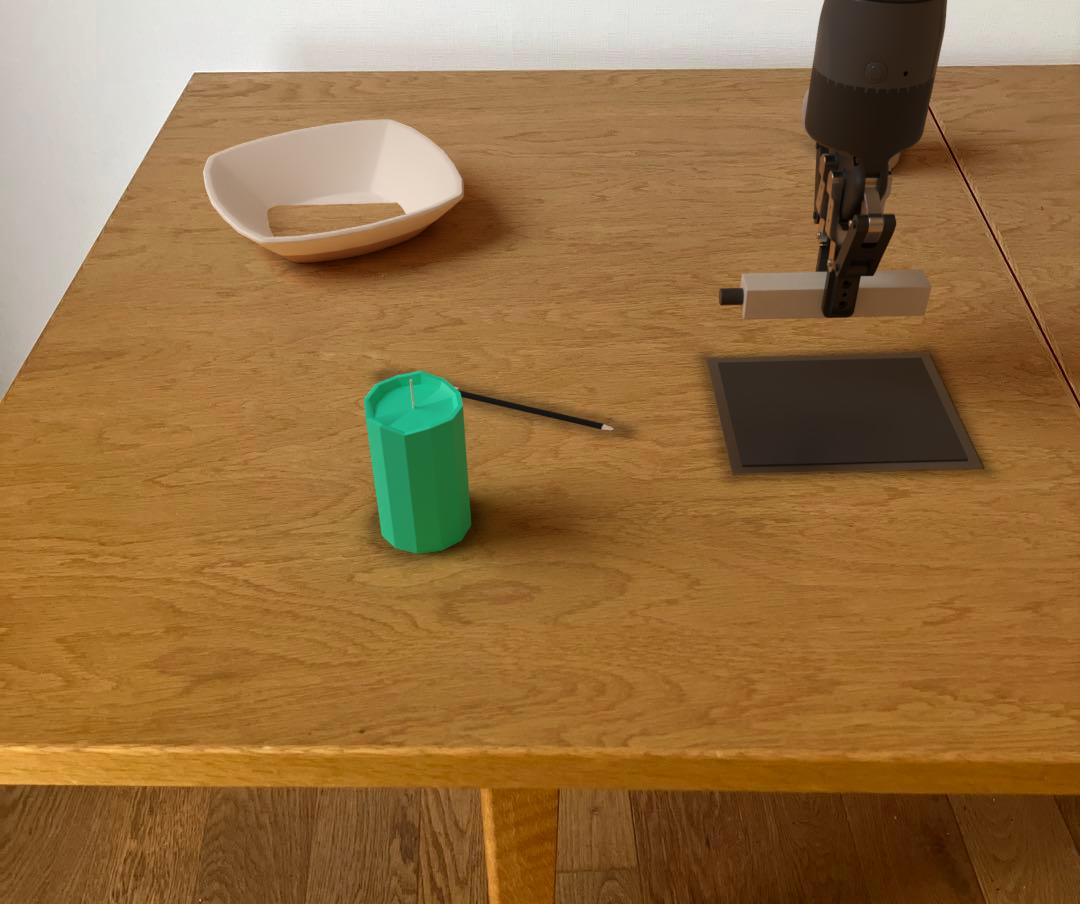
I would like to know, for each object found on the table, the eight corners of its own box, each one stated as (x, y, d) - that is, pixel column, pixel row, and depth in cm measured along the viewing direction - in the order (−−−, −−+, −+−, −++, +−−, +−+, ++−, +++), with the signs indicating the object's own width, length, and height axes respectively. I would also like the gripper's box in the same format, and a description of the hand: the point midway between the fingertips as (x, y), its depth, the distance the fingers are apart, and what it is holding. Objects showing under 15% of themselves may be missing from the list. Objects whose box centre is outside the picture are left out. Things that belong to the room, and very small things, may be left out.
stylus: (916, 298, 87) (923, 269, 86) (925, 316, 85) (932, 286, 84) (716, 302, 87) (719, 273, 85) (720, 320, 85) (723, 290, 84)
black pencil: (390, 381, 91) (388, 369, 90) (627, 436, 85) (628, 423, 85) (384, 387, 90) (383, 375, 90) (623, 443, 85) (624, 431, 84)
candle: (390, 500, 81) (371, 349, 73) (478, 504, 80) (468, 353, 72) (372, 560, 76) (349, 407, 68) (465, 566, 76) (453, 412, 68)
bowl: (408, 159, 120) (403, 107, 116) (495, 254, 105) (492, 198, 102) (194, 205, 113) (182, 151, 110) (255, 313, 99) (244, 256, 95)
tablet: (926, 363, 92) (929, 351, 91) (979, 478, 82) (983, 466, 81) (705, 369, 92) (706, 356, 91) (730, 485, 81) (732, 472, 81)
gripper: (967, 104, 69) (908, 357, 81) (907, 20, 79) (862, 255, 91) (837, 106, 69) (797, 359, 81) (794, 22, 79) (764, 257, 91)
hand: (832, 303), depth 86 cm, fingers closed on stylus, 2 cm apart
